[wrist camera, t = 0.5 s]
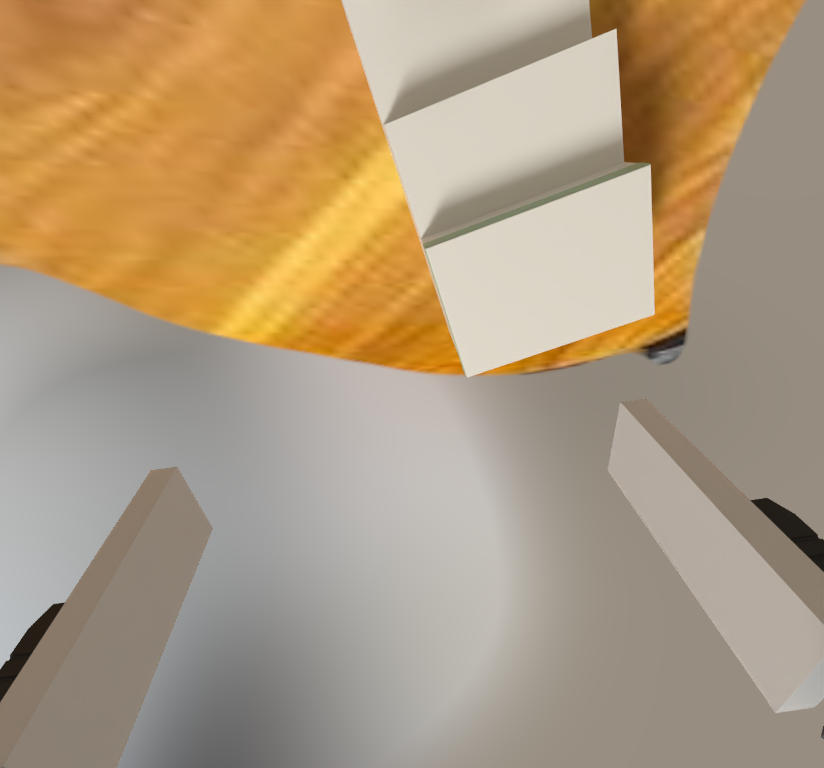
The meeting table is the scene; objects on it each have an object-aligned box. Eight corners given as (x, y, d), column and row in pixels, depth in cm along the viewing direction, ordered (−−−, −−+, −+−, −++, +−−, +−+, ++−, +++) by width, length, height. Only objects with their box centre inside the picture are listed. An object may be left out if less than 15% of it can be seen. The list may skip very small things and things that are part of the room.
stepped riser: (341, 4, 26) (327, -51, 18) (558, -95, 25) (642, -199, 17) (448, 329, 38) (466, 378, 31) (596, 277, 37) (655, 314, 29)
